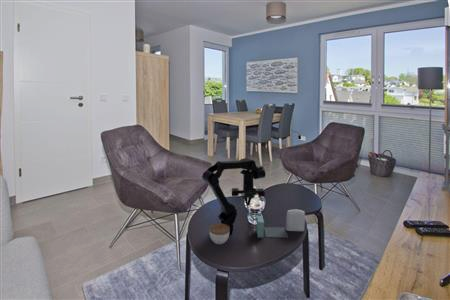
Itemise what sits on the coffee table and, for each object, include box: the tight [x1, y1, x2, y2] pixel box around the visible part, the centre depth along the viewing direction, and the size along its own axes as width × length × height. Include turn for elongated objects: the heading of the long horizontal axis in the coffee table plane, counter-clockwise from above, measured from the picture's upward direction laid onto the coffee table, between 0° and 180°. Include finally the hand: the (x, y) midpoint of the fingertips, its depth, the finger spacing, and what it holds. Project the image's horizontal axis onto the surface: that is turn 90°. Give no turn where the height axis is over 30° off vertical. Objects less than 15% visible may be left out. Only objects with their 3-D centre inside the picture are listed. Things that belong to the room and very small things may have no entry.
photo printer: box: [285, 209, 306, 232], centre depth 169 cm, size 10×4×12 cm, turn 86°
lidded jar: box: [208, 222, 230, 245], centre depth 156 cm, size 11×11×9 cm
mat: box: [264, 226, 289, 239], centre depth 167 cm, size 12×11×1 cm
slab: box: [256, 215, 265, 238], centre depth 165 cm, size 3×8×9 cm, turn 179°
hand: (247, 206), depth 173 cm, fingers closed
